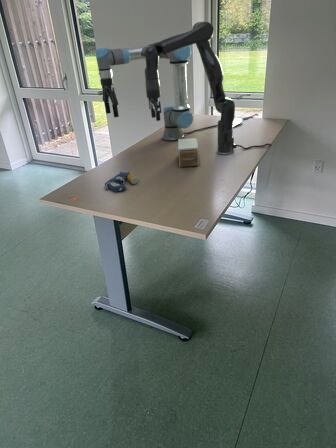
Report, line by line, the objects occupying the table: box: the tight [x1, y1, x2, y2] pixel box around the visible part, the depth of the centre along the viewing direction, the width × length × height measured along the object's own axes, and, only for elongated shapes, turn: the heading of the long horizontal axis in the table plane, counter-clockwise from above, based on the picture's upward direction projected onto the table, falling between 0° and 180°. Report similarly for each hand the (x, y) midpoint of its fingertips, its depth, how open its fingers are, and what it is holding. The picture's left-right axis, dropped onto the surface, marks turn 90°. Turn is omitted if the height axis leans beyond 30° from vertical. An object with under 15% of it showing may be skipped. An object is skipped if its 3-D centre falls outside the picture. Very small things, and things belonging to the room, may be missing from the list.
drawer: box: [178, 150, 199, 167], centre depth 199 cm, size 23×10×9 cm, turn 179°
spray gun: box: [103, 170, 139, 193], centre depth 182 cm, size 21×4×15 cm
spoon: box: [233, 117, 243, 128], centre depth 261 cm, size 35×11×2 cm, turn 159°
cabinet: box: [177, 137, 200, 168], centre depth 204 cm, size 18×12×11 cm, turn 179°
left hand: (112, 115), depth 206 cm, fingers open, 13 cm apart
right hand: (156, 119), depth 186 cm, fingers open, 8 cm apart
